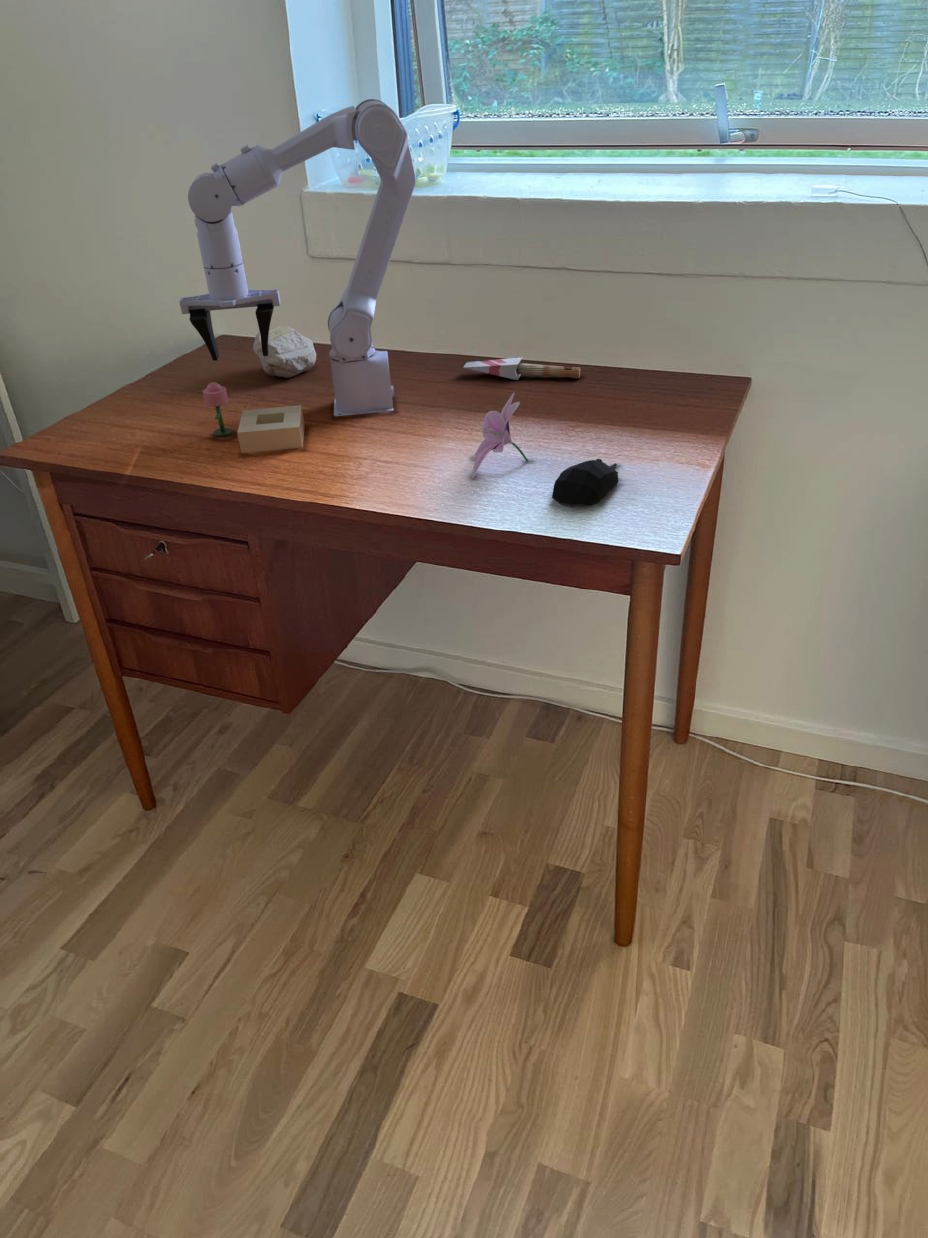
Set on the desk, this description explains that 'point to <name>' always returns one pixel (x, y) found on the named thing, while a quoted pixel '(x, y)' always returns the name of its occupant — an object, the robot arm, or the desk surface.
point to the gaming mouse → (585, 483)
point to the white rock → (286, 352)
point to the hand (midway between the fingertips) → (241, 356)
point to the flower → (217, 406)
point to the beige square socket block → (271, 429)
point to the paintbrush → (521, 368)
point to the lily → (496, 433)
